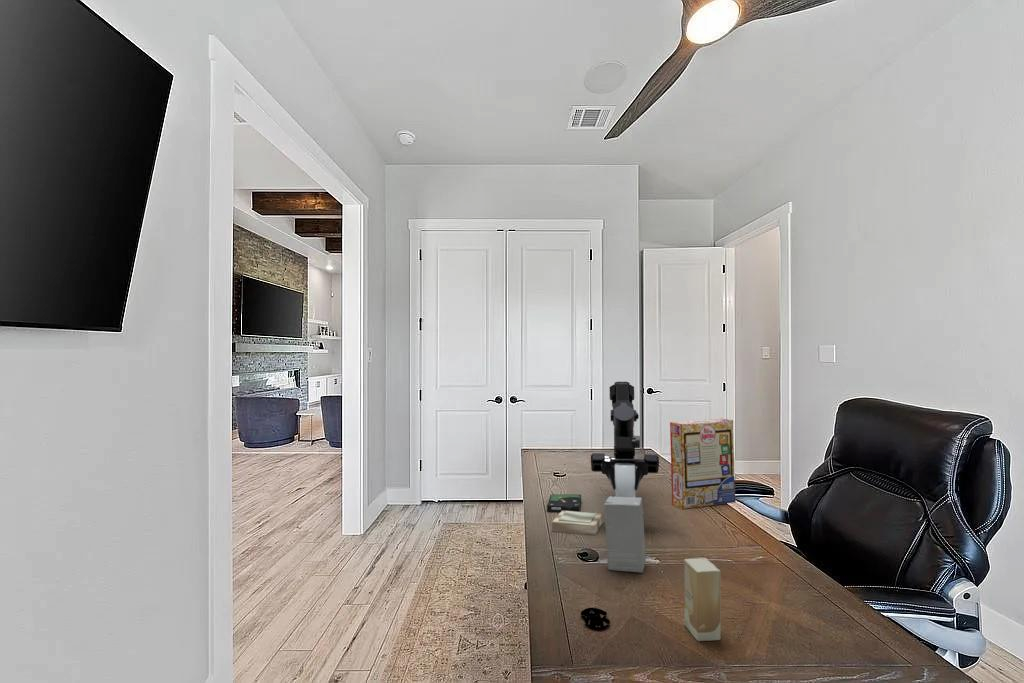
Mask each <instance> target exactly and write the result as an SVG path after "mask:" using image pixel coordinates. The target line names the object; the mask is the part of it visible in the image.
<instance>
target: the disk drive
mask: <svg viewBox="0 0 1024 683" xmlns="http://www.w3.org/2000/svg"><path fill="white" fill-rule="evenodd" d="M581 506H582V494H573V493H572V494H570V493H567V494H564V493H563V494H561V493H559V494H558V493H557V494H555V493H552V494H551V495H550V496H549V499H548V502H547V505H546V510H547V511H546V512H547V513H557V514H560V512H561V511H562V510H563V511H575V512H581Z"/></svg>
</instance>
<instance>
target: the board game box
mask: <svg viewBox="0 0 1024 683" xmlns="http://www.w3.org/2000/svg"><path fill="white" fill-rule="evenodd" d="M669 433H670V434H669V436H670V438H669V440H670V442H669V443H670V466H671V467H670V469H671V470H670V471H671V472H670V473H671V477H670V478H671V505H672V506H674V507H676V508H678V509H681V510H685V509H691V508H692V509H693V508H698V507H699V508H700V507H701V508H702V507H709V506H715V505H716V506H717V505H725V504H733V503H734V504H735V503H736V488H735V487H736V483H735V482H736V481H735V452H734V450H735V449H734V420H733V419H728V418H722V417H721V418H712V419H699V420H698V419H697V420H687V421H686V420H685V421H672V422H669Z"/></svg>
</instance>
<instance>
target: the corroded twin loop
mask: <svg viewBox="0 0 1024 683" xmlns="http://www.w3.org/2000/svg"><path fill="white" fill-rule="evenodd" d="M607 614H608V613H607V611H605V610H603V609H600V608H597V607H586V608H584V609H582V611H581V612H580V615H581V616H582V619H583V622H584V624H585V625H586V626H587V627H588V628H589V629H591V630H596V631H603V630H605V629H606V628H608V627H609V625H610V623H611V621H610V619H609V618H606V616H607Z"/></svg>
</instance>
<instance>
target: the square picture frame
mask: <svg viewBox="0 0 1024 683" xmlns="http://www.w3.org/2000/svg"><path fill="white" fill-rule="evenodd" d="M602 524H603V513H599V512H585V511H580V512H575V511H563V510H562V511H561V512H560V513H558V515H557V516H556V517H555V518H554V519H553V521H552V522H551V531H552V532H555V533H557V532H558V533H564V534H566V533H568V534H577V535H591V536H596V534H597V533H598V531H599V529H600V528H601V526H602Z"/></svg>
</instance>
